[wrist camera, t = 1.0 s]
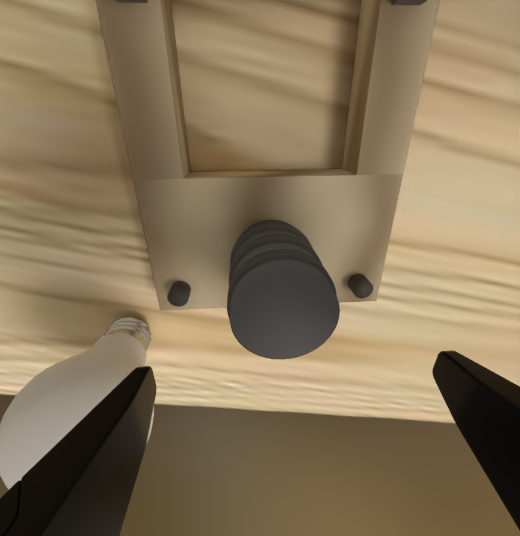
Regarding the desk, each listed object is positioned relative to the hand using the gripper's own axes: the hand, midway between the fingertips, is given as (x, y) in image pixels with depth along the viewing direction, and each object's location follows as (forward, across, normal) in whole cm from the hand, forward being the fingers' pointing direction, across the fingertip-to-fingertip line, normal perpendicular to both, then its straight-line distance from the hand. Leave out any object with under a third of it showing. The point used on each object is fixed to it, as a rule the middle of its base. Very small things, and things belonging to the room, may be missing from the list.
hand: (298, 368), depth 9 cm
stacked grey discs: (+9, 0, 0) cm, 9 cm away
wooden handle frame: (+11, 0, -4) cm, 12 cm away
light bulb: (+11, +10, +7) cm, 17 cm away
